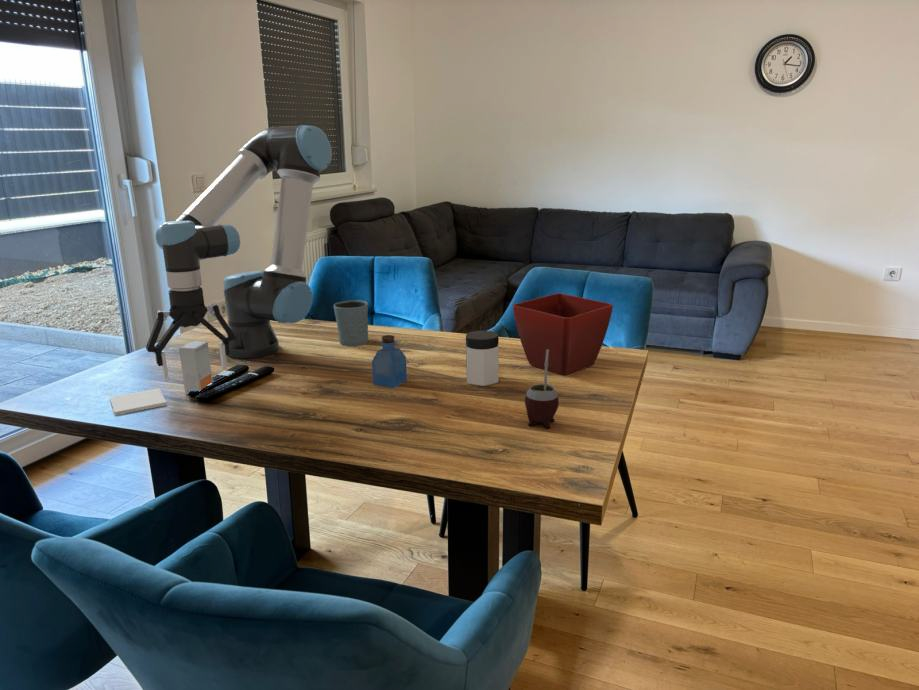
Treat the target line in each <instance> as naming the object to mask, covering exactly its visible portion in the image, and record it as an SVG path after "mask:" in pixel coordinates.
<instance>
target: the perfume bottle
mask: <svg viewBox="0 0 919 690" xmlns="http://www.w3.org/2000/svg"><path fill="white" fill-rule="evenodd" d="M380 342H381V344H380V346H381V347H382V348H380V349H378V350H377V351H376V353H375V355H374V357H373V358H372V360H371V366H372V368H371V369H372V385H374V386H379V387H386V388H394V389H395V388H397V387H399V386H400V385H401V384H403V383H405V382H406V381H407V380H408V378H407V377H408V372H407V356H406V355H405V354H404V352H403V351H402V349H401V348H400V347H395V346H396V340H395V335H391V334H385V335H382V336H381V341H380Z"/></svg>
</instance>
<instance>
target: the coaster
mask: <svg viewBox="0 0 919 690" xmlns="http://www.w3.org/2000/svg"><path fill="white" fill-rule="evenodd" d="M109 401H110V404H111V408H112V407H113V408H112V411H113V413H114V416H119V415H118V414H120V415H123V414H122V413H125V414H129V412H130V413H135V412H139V410H140V411H144V409H145V410H150V409H154V408H159V407H164V406H167V405H168V404H167V400H166V399H165V397H164V395H163V393H162V391H161V389H160V388H152V389H147V390H142V391H135V392H130V393H125V394H120V395H115V396H110V397H109ZM134 411H135V412H134Z"/></svg>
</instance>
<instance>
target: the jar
mask: <svg viewBox="0 0 919 690" xmlns="http://www.w3.org/2000/svg"><path fill="white" fill-rule="evenodd" d="M499 343H500V342H499V334H498V333H497V332H495V331H491V330H474V331H471V332H467V333H466V335H465V357H466V358H465V359H466V360H465V363H466V365H465V366H466V383H467V384H468V385H472V386H473V385H474V386H479V387H486V386H490V385H495V384H498V383H499V375H500V371H499V367H500V364H499V363H500V357H499V353H500V352H499Z"/></svg>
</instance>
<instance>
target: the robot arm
mask: <svg viewBox="0 0 919 690" xmlns="http://www.w3.org/2000/svg"><path fill="white" fill-rule="evenodd" d="M332 154H333V152H332V146H331V142H330V140H329V139H328V136H327V135H326V133H325V132H324V131H323V130H322V129H321V128H320V127H317V126H315V125H306V124H301V125H285V126H284V125H283V126H281V125H278V126H276V125H274V126H271V127H267V128H266V129H264V130H262V131H260V132H258V133H257V134H256V135H255V136H253V137H252V138H250V139H249V140H248V141H247V142H246V143H245V144H244V145H243V146H242V147H241V148H240V149H239V150H238V151H236V154H235V157H236V158H235V160H234V161H233V162H231V164H230V165H229V166H228V167H227V168H226V169H225V170H224V171H223V172H222V173H221V174H220V175H219V176H218V177H217V178H216V179H215V180H214V181H213V182H212V183H211V184H210V185H209V186H208V187H207V188H206V189H205V190H204V191H203V192H202V193H201V194H200V195H199V197H197V199H196V200H194V201H193V202H192V203H191V204H190V205H189V207H187V209H185V211H184V212H183V213H182V214H181V215H180V216H179V217H177V219H175V220H174V221H173V220H170V221H165V222H163V223H162V224H160V225H159V226H158V227H157V230H156V232H155V241H156V244H157V245H158V247H159V248H160V249H161V250H162V254H163V261H164V268H165V273H166V282H167V288H168V289H169V290H168V291H167V292H168V297H169V298H168V299H169V306H170V308H169V310H160V309H158V310H157V311H156V320H155V322H154V324H153V327H152V330H151V333H150V336H149V337H148V341H147V343H146V345H145V348H146V350H147V352H149V353H154V355H155V361H156V364H157V365H158V367H162V369H161V370H162V374H163V375H162V376H163V378H164V380H166V381H168V380H169V372H168V365H167V358H166V352H165V351H164V349H165V347H166V346H167V345H168V343H169V342H170V340H171V339H172V338H173V337H174V334H176V333H177V331H178V330H179V329H180V327H181V328H188V327H198V326H199V325H200V324H201V325H203V326H204V327H205V328H206V329H208V330H209V331H210V332H211V333H212V334H213V335H214V336H216V337H217V338H218V339H219V340H221V341H219V342H218V348H219V357H220V365H221V369H222V370H224V371H226V370H228V364H227V356H228V357H231V358H235V359H250V358H251V359H253V358H259V357H265V356H268V355H271V354H273V353H276V352H277V351H278V350H279V349H280V345H279V344H280V343H279V340H278V337H277V335H276V333H275V331H274V329H273V326H272V324H271V321H273V322H278V323H280V324H281V323H282V324H296V323H299V322H300V321H302V320H303V319H304V318H305V317H307V315H308V314H309V313H310V311H311V308H312V305H313V301H314V300H313V299H314V296H313V292H312V289H311V286H310V285H309V284H307V275H306V274H305V273H304V271H303V265H304V257H305V249H306V243H307V242H306V241H307V234H308V233H307V232H308V228H309V227H308V226H309V218H310V211H311V202H312V198H313V197H312V196H313V187H314V185H315V184H316V183H317V182H318V181H320V179H321V172H322V171H324V170H326V169H327V168H328V167H329V166H330V164H331V162H332V156H333V155H332ZM274 171H276V173H277V174H278V176H279V177H280V179H281V180H280V186H279V194H278V195H279V196H278V202H277V212H276V218H275V219H276V220H275V226H274V233H273V241H272V247H271V248H272V249H271V255H270V264H269V265H268V267H266V268H265V269H264V270H254V271H253V270H251V271H246V272H239V273H235V274H234V273H233V274H231V275H228V276H226V277H225V278H224V279H223V297H224V303H225V309H226V317H227V322H226V320H225V319H224V317H223V315H222V314H221V311H220V307H219V305H218V304H216V303H212V304H210V305H207V306H206V305H205V299H204V290H203V288H202V287H201V286H202V285H203V281H202V276H201V275H202V274H201V266H200V265H201V263H200V261H202V260H206V259H214V258H219V257H227V256H231V255H234V254H235V253H237V252H238V251H239V249H240V247H241V236H240V234H239V232H238V230H237V229H236V228H235V227H234V226H232V225H231V224H218V225H216V224H217V223H218V222H219V221H220V220H221V219H222V217H224V216H225V214H227V212H228V211H229V210H230V209H231V208H232V207H234V205H235V204H236V203H237V202H238V200H240V199H241V197H243V196H244V194H245V193H246V192H247V191H248V190H249V189H250V188H251V187H252V186H253V185H254V184H255V183H256V181H258V180H262V179H264V178H266V176H267V175H268V174H269V173H272V172H274ZM207 312H209V313H210V314H211V315H213V316H214V317H215V319H216V320H217V322H218V323H219V325H220V326H221V327H222V329H223V330H224V332H225V334H226V335H224V334H223V333H222V332H221V331H219V330H218V329H217V328H216V327H215V326H214V325H212V324H211V323H210V322H209V321H207V320H206V319H205V316H206V315H207ZM168 317H170V318H171V319H172V320H173V321H172V322H171V323H170V325H169V327H168V328H167V330H166V331H165V333H164V334H163V335H162V337H161V338H160V340H159V341H158V342H157V340H158V338H159V336H160V333H161V330H162V327H163V325H164V321H166V320H167V319H168ZM156 343H157V344H156Z"/></svg>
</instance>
